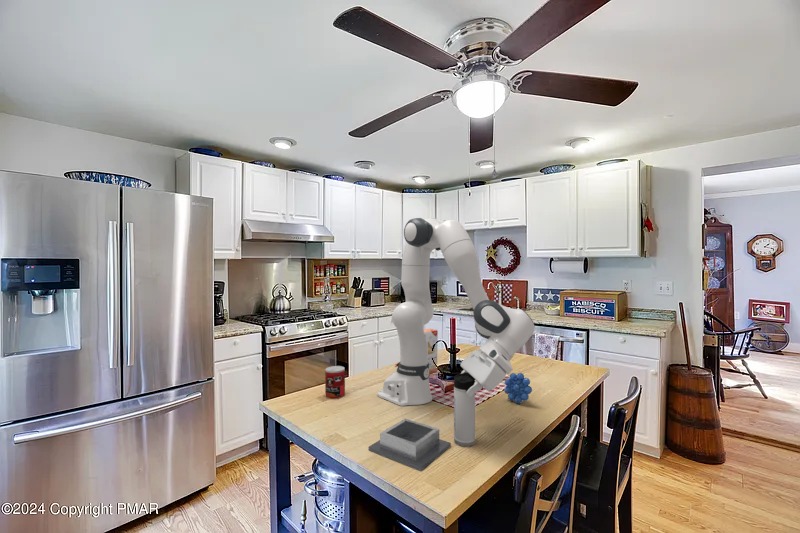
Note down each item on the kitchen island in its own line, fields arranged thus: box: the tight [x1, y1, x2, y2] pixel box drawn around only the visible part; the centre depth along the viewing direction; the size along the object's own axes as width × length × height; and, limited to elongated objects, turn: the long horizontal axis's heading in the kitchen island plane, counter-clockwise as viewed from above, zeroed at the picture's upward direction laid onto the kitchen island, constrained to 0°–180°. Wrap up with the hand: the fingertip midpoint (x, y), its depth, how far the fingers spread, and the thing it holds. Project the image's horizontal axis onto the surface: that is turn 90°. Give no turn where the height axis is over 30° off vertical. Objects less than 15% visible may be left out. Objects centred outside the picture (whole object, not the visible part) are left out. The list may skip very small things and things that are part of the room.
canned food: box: [324, 365, 346, 400], centre depth 150 cm, size 8×8×11 cm
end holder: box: [368, 418, 452, 472], centre depth 107 cm, size 18×16×5 cm
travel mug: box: [453, 372, 476, 448], centre depth 111 cm, size 6×7×20 cm
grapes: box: [503, 372, 533, 405], centre depth 141 cm, size 12×7×12 cm, turn 41°
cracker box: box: [424, 328, 439, 375], centre depth 179 cm, size 14×6×21 cm, turn 128°
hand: (462, 389), depth 111 cm, fingers open, 8 cm apart
